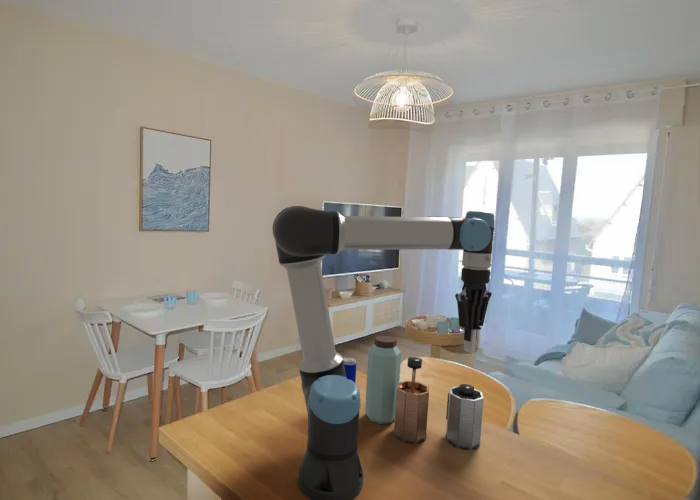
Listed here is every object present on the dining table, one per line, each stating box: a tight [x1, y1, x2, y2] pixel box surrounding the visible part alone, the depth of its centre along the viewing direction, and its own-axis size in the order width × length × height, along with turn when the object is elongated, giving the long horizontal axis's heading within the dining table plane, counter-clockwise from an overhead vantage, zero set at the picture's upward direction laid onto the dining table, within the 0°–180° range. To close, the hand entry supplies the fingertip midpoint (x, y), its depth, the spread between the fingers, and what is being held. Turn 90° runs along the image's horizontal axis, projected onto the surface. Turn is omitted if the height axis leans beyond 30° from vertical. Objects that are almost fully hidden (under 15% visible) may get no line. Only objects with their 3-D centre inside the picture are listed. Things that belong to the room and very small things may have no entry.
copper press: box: [393, 380, 430, 444], centre depth 119 cm, size 9×10×14 cm
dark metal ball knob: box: [458, 383, 475, 399], centre depth 116 cm, size 7×7×11 cm
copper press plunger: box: [403, 356, 423, 394], centre depth 118 cm, size 7×7×11 cm
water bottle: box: [364, 335, 402, 425], centre depth 127 cm, size 10×10×25 cm
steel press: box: [445, 385, 485, 451], centre depth 117 cm, size 9×10×14 cm
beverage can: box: [343, 356, 358, 384], centre depth 136 cm, size 5×5×15 cm
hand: (469, 351), depth 115 cm, fingers closed
